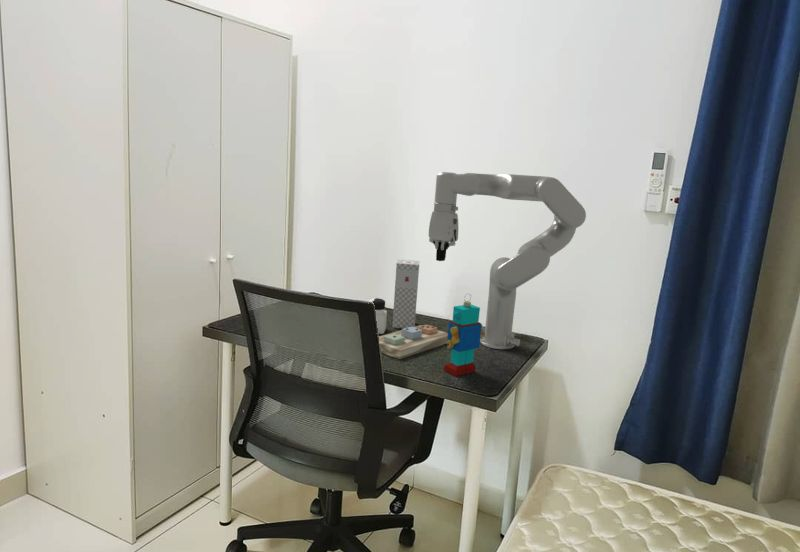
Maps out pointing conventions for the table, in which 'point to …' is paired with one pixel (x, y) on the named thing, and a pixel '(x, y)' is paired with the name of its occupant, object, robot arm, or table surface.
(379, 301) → the medicine bottle
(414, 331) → the button two
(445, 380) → the table surface
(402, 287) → the box
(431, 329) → the button three
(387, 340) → the button one
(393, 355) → the wooden puzzle board
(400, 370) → the table surface
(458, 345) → the toy robot
